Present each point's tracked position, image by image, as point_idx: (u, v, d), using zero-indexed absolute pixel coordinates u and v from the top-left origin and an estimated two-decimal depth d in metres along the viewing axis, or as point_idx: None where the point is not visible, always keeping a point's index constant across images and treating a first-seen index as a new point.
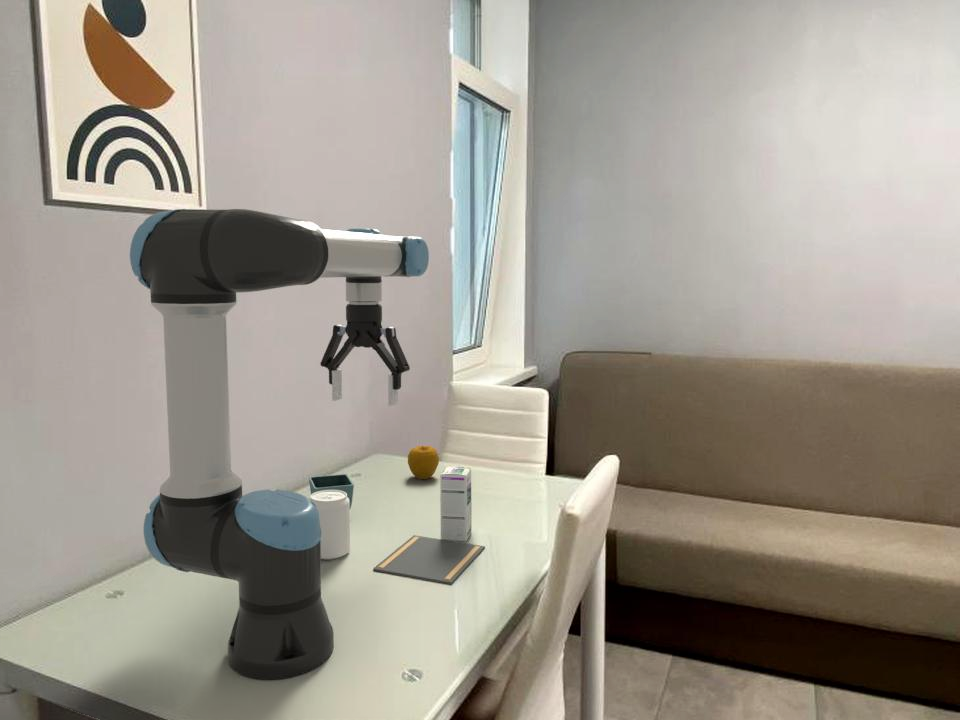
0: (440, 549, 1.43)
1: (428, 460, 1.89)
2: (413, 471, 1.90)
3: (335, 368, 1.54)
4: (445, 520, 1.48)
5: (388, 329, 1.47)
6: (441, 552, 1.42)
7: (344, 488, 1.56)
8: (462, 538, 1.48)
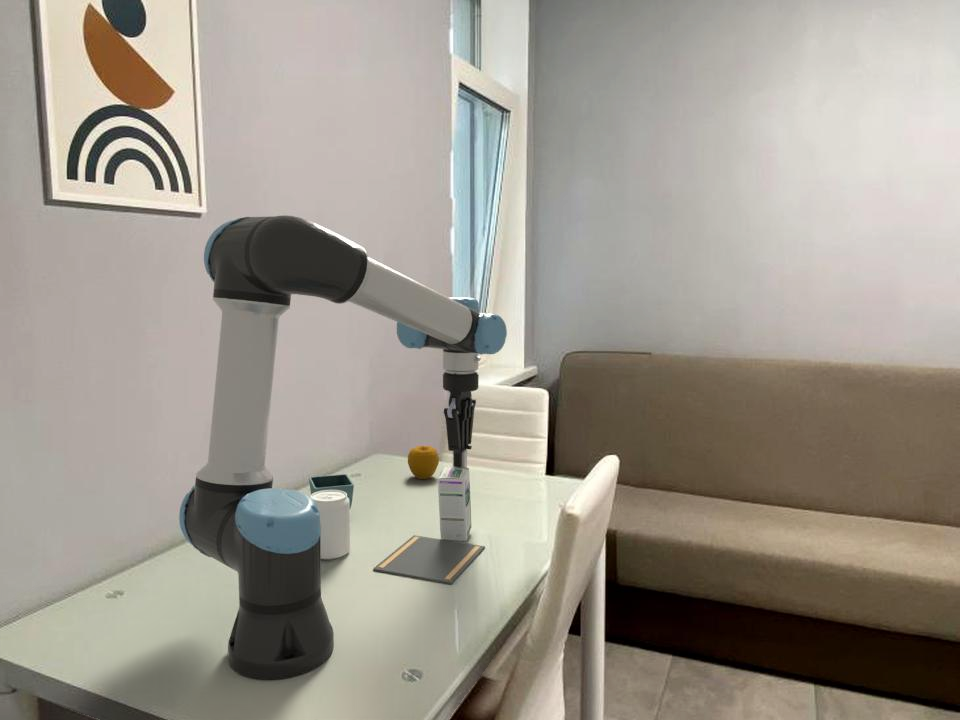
0: (440, 549, 1.43)
1: (428, 460, 1.89)
2: (413, 471, 1.90)
3: None
4: (444, 522, 1.48)
5: (444, 411, 1.44)
6: (441, 552, 1.42)
7: (344, 488, 1.56)
8: (462, 538, 1.48)
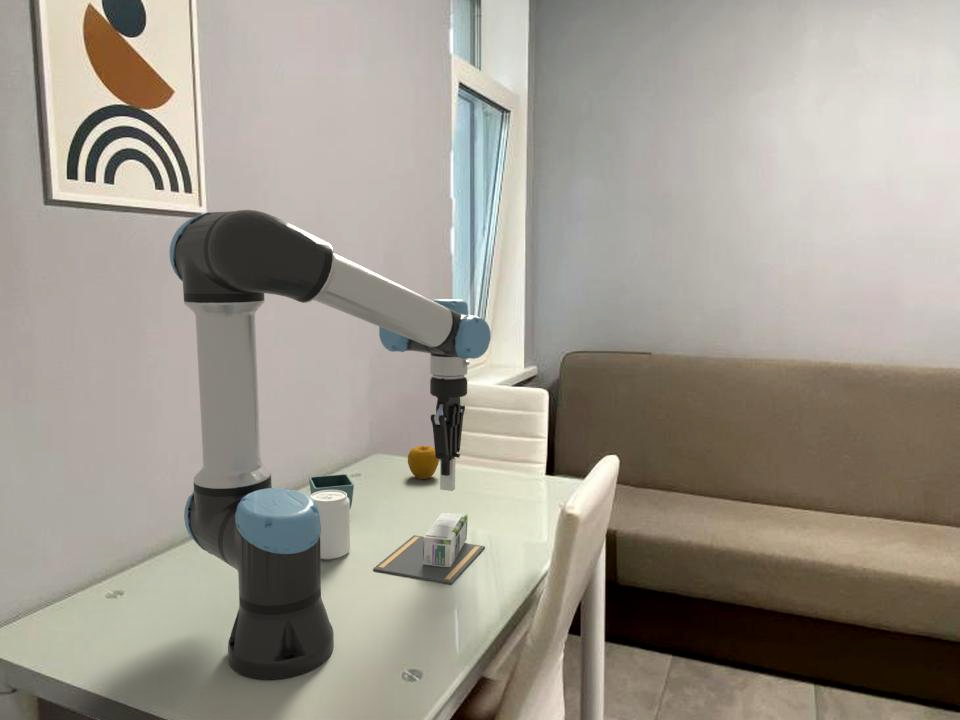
0: None
1: (428, 460, 1.89)
2: (413, 471, 1.90)
3: None
4: None
5: (431, 417, 1.38)
6: None
7: (344, 488, 1.56)
8: None
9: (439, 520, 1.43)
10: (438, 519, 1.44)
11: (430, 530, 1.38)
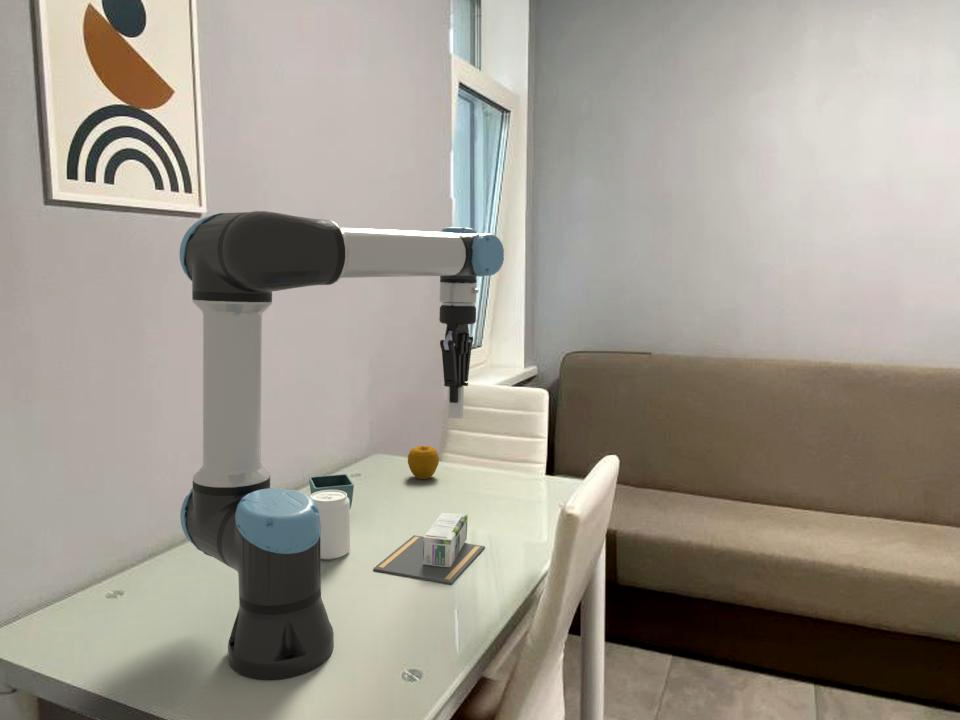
0: None
1: (428, 460, 1.89)
2: (413, 471, 1.90)
3: None
4: None
5: (440, 342, 1.41)
6: None
7: (344, 488, 1.56)
8: None
9: (439, 520, 1.43)
10: (438, 519, 1.44)
11: (430, 530, 1.38)
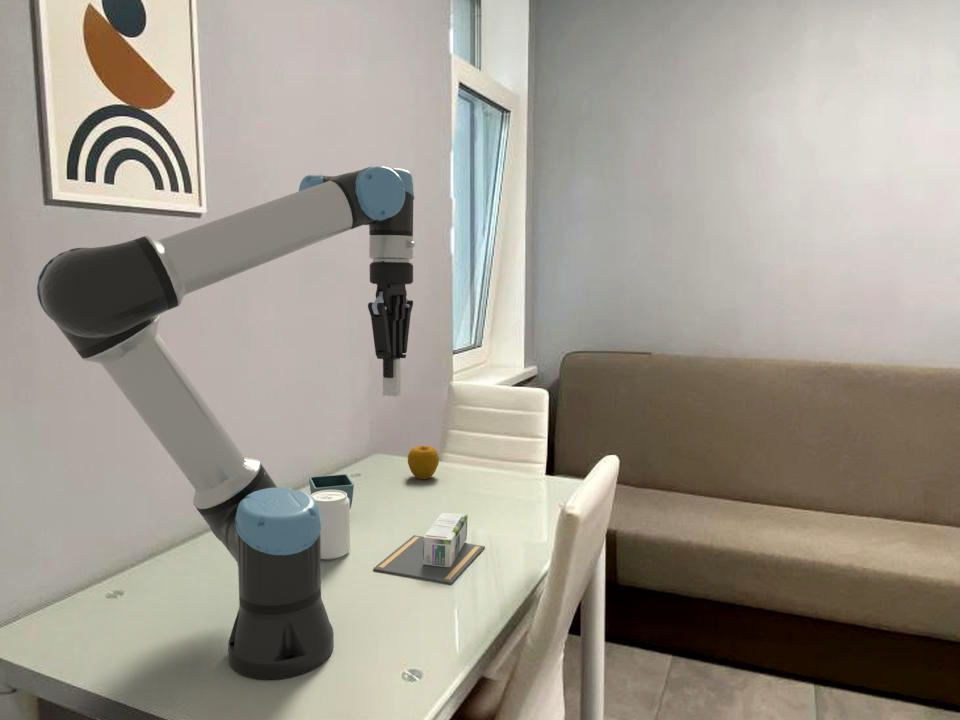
0: None
1: (428, 460, 1.89)
2: (413, 471, 1.90)
3: None
4: None
5: None
6: None
7: (344, 488, 1.56)
8: None
9: (439, 520, 1.43)
10: (438, 519, 1.44)
11: (430, 530, 1.38)
